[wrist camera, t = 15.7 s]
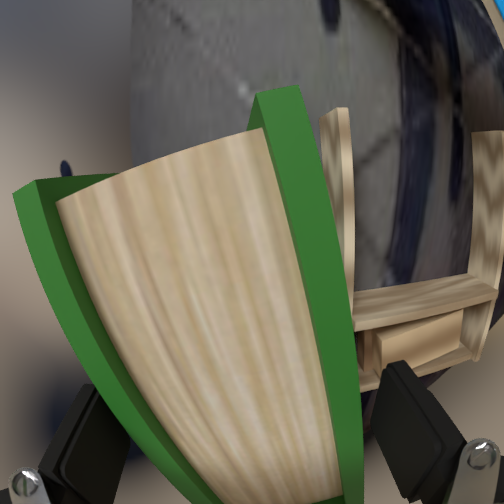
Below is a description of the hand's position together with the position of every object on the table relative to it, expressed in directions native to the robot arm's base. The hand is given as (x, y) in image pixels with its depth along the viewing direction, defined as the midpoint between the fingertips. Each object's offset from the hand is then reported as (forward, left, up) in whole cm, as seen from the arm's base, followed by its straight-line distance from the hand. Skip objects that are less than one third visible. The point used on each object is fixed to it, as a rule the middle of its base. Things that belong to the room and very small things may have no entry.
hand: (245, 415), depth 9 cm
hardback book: (0, 0, -23) cm, 23 cm away
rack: (+3, +21, -24) cm, 32 cm away
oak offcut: (+13, +21, -21) cm, 32 cm away
